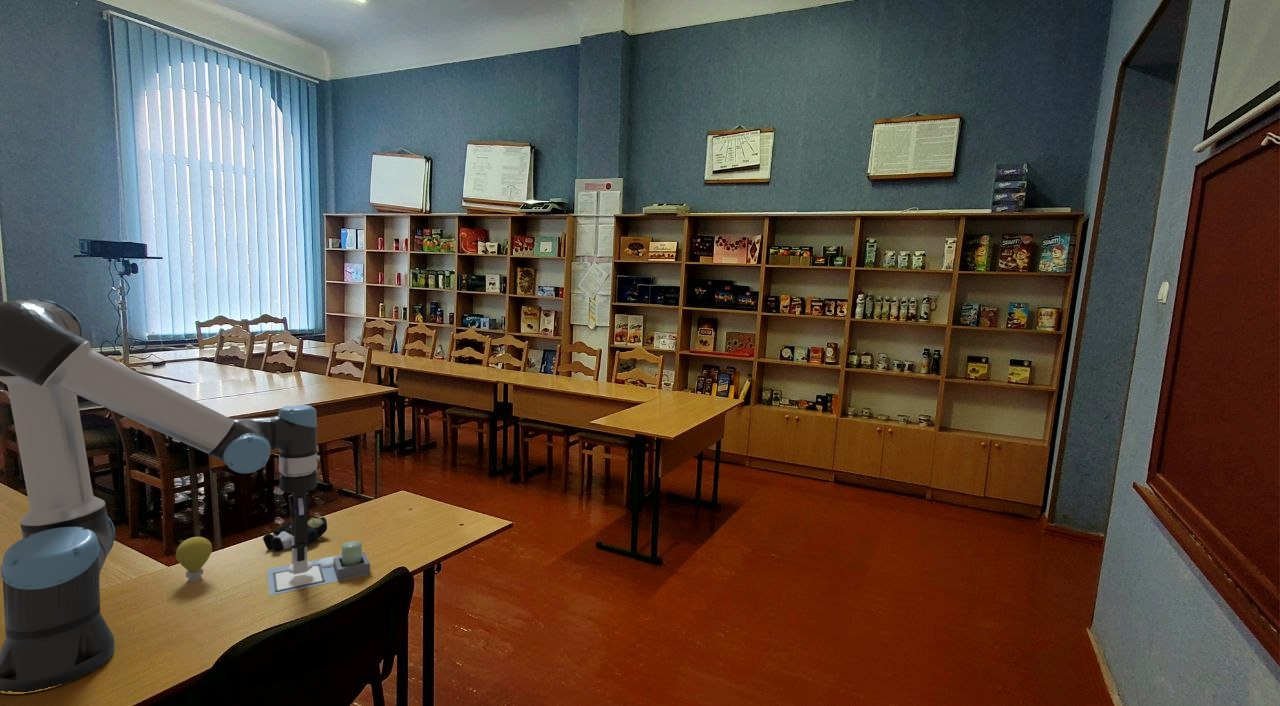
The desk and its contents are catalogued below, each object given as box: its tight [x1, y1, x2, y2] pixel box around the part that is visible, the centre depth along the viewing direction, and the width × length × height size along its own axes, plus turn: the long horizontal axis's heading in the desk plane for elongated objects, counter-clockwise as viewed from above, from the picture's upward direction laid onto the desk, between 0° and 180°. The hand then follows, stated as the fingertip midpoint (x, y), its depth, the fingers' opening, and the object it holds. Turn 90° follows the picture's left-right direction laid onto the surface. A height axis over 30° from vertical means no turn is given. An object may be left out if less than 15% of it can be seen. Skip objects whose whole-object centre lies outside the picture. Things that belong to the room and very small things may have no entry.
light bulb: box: [175, 536, 213, 583], centre depth 131 cm, size 7×7×10 cm
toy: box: [262, 516, 328, 553], centre depth 153 cm, size 12×8×15 cm
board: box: [266, 551, 371, 597], centre depth 137 cm, size 20×14×3 cm
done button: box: [341, 540, 363, 566], centre depth 138 cm, size 4×4×4 cm
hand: (299, 567), depth 134 cm, fingers closed on chess piece, 5 cm apart
